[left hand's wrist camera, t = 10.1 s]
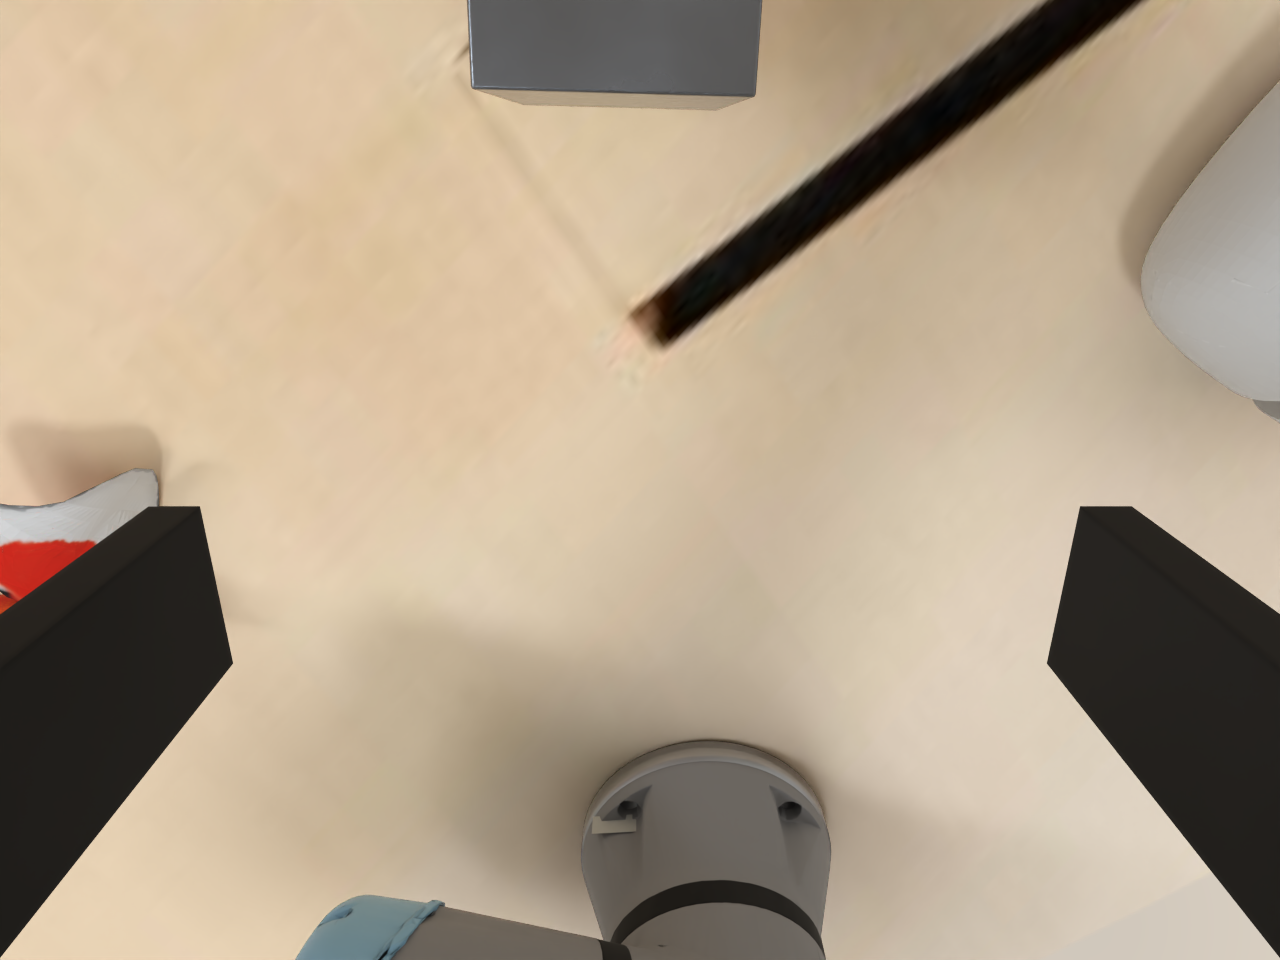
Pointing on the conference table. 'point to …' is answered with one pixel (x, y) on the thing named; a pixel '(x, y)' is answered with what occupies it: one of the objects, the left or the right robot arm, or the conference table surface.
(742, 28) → the bar
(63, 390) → the conference table surface
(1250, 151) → the projector
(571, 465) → the conference table surface
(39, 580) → the fish
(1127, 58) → the conference table surface
